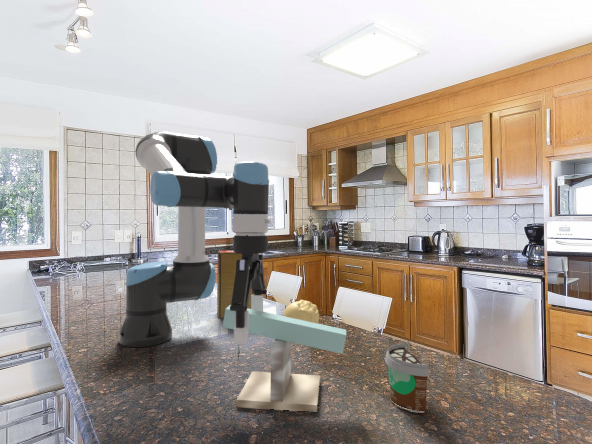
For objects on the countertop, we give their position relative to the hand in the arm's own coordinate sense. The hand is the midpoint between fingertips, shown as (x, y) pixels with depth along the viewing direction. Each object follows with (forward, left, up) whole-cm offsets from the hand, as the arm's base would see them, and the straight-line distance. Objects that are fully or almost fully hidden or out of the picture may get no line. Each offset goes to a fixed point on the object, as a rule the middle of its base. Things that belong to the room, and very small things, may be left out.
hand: (249, 332), depth 76 cm
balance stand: (+7, 0, -13) cm, 15 cm away
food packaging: (-21, +59, -13) cm, 64 cm away
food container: (+32, 0, -13) cm, 35 cm away
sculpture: (+7, +41, -13) cm, 44 cm away
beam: (+7, 0, -1) cm, 7 cm away
